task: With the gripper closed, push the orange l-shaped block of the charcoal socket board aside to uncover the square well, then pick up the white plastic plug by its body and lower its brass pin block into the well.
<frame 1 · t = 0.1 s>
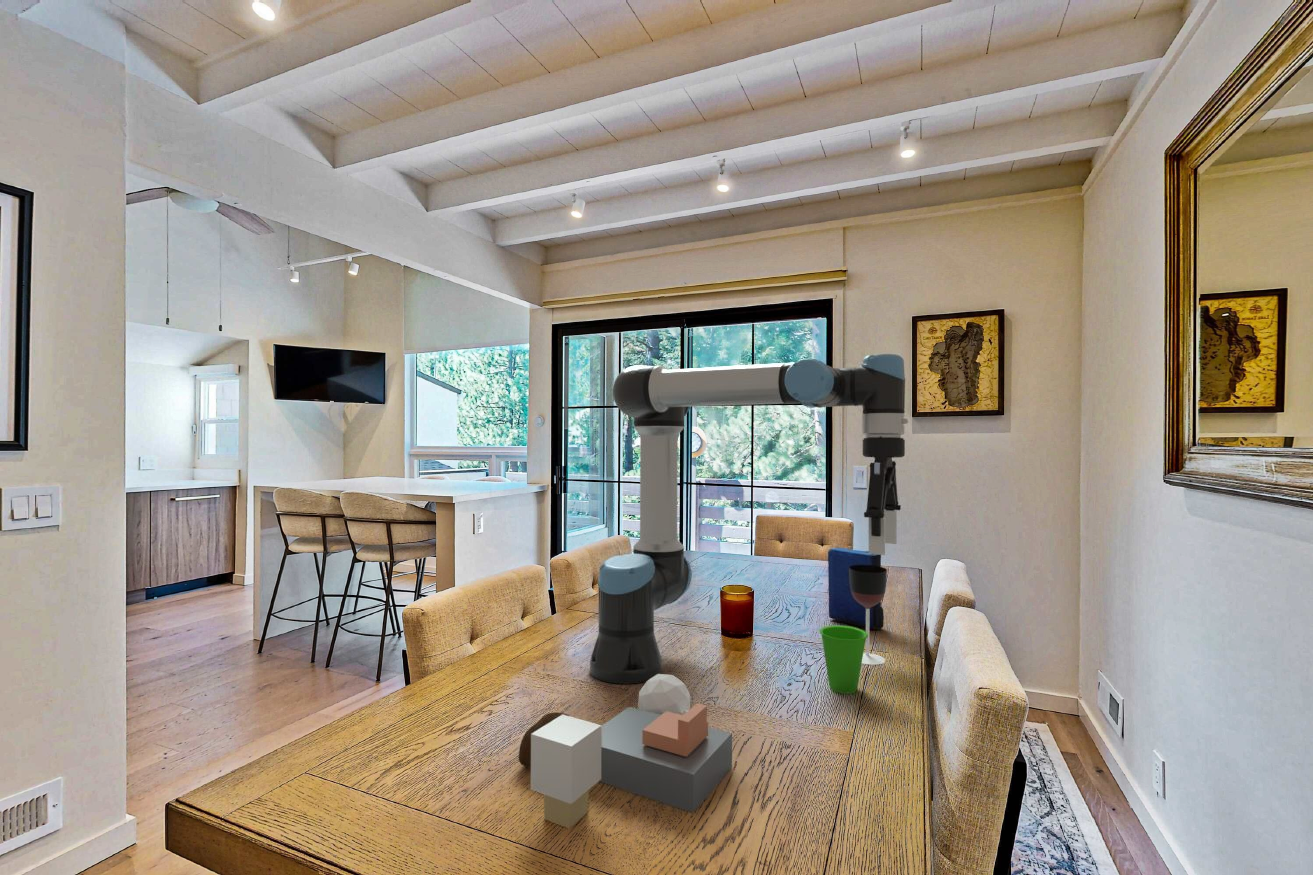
hand: (883, 548, 116), 28 cm above the table, fingers open, 13 cm apart
book: (855, 625, 162), on the table
plug: (566, 815, 79), on the table
potato: (551, 761, 92), on the table
socket board: (657, 770, 89), on the table
orange l-shaped block: (675, 723, 88), point 8 cm above the table, slide at 0.0 cm
wineglass: (867, 659, 136), on the table
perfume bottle: (667, 732, 102), on the table
cup: (843, 689, 120), on the table
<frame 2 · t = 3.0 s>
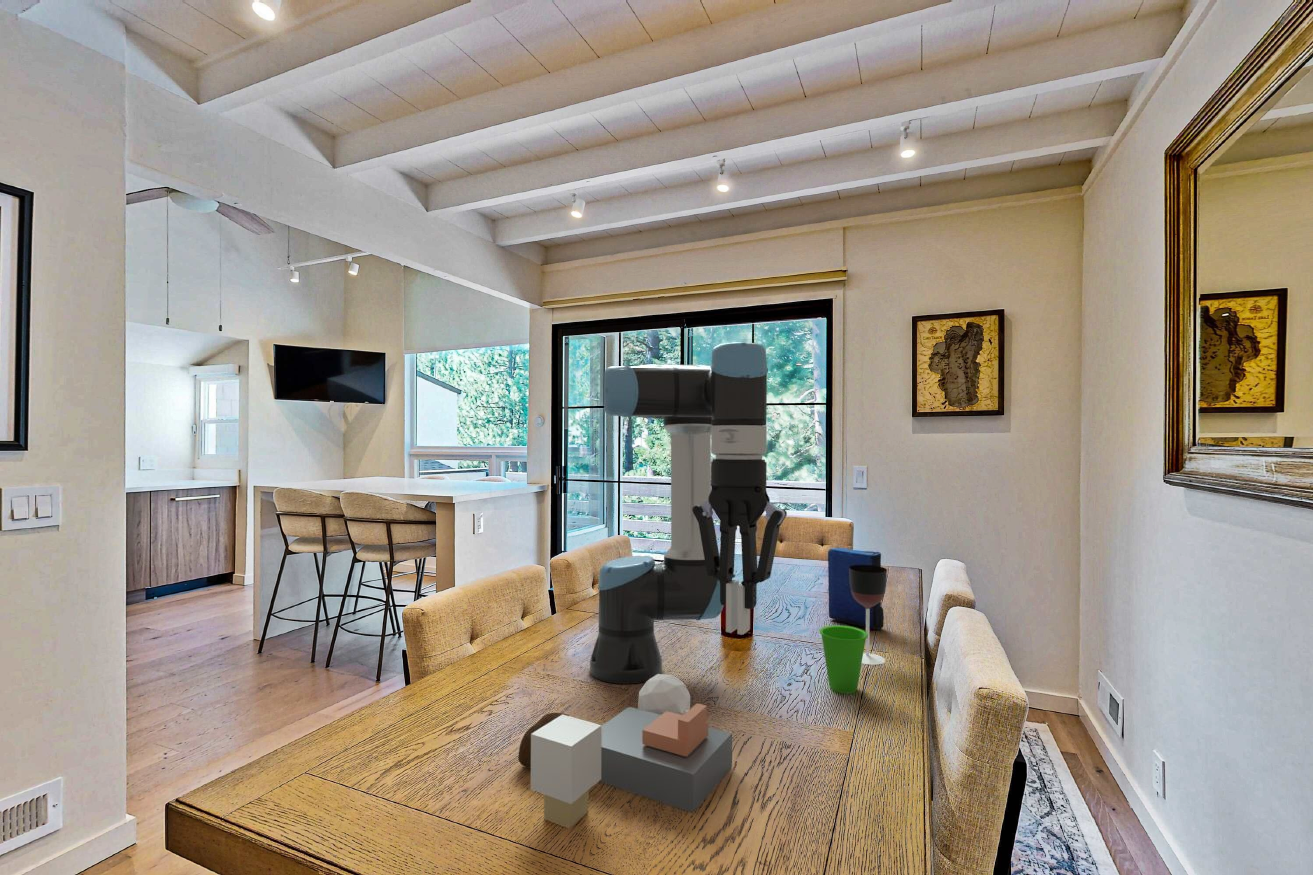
hand: (738, 630, 83), 22 cm above the table, fingers closed
nothing on the table moved.
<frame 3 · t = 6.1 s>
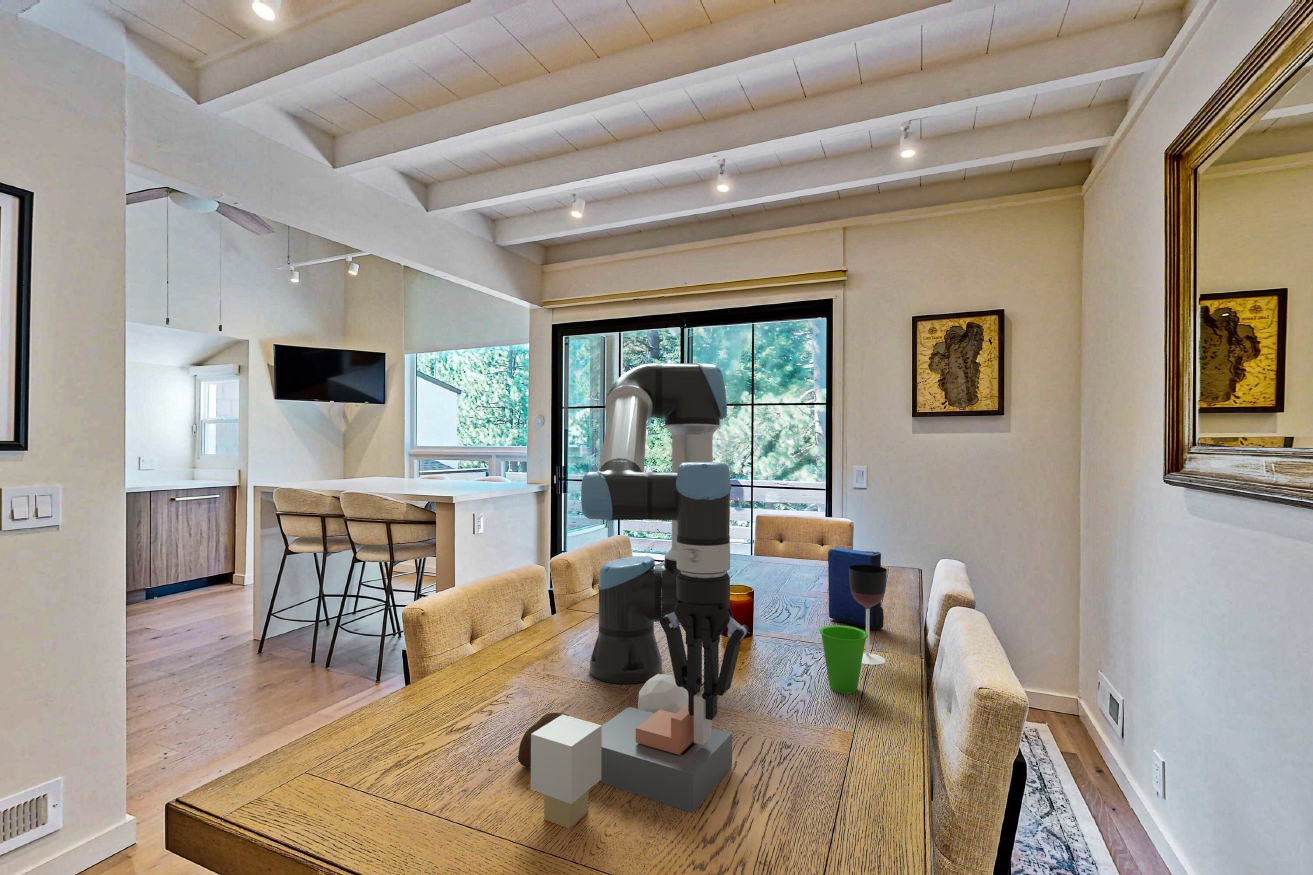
hand: (702, 739, 86), 6 cm above the table, fingers closed
orange l-shaped block: (669, 722, 88), point 8 cm above the table, slide at 1.1 cm, touching gripper
everything else where it was.
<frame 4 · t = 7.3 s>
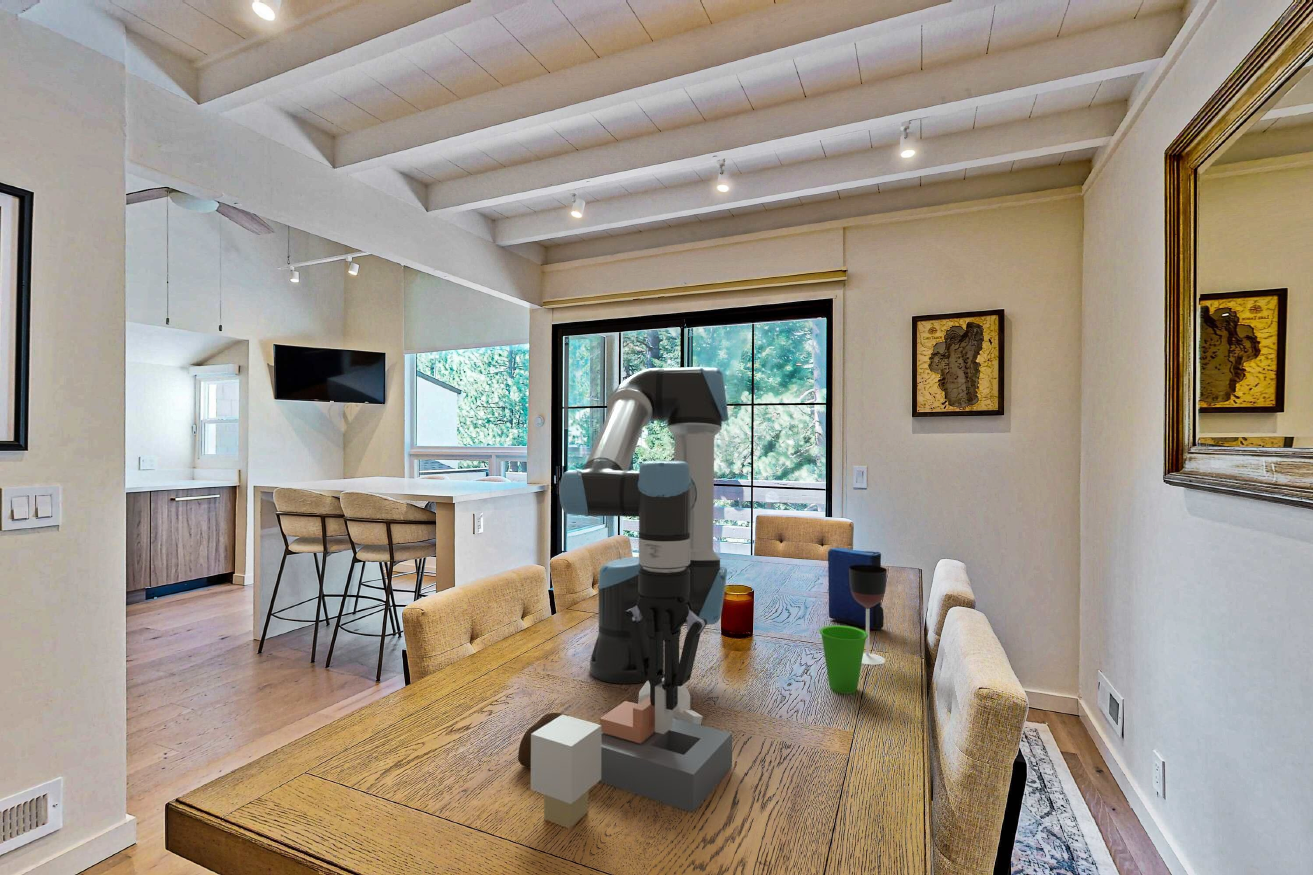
hand: (663, 728, 89), 6 cm above the table, fingers closed
orange l-shaped block: (632, 712, 91), point 8 cm above the table, slide at 7.3 cm, touching gripper
everything else where it was.
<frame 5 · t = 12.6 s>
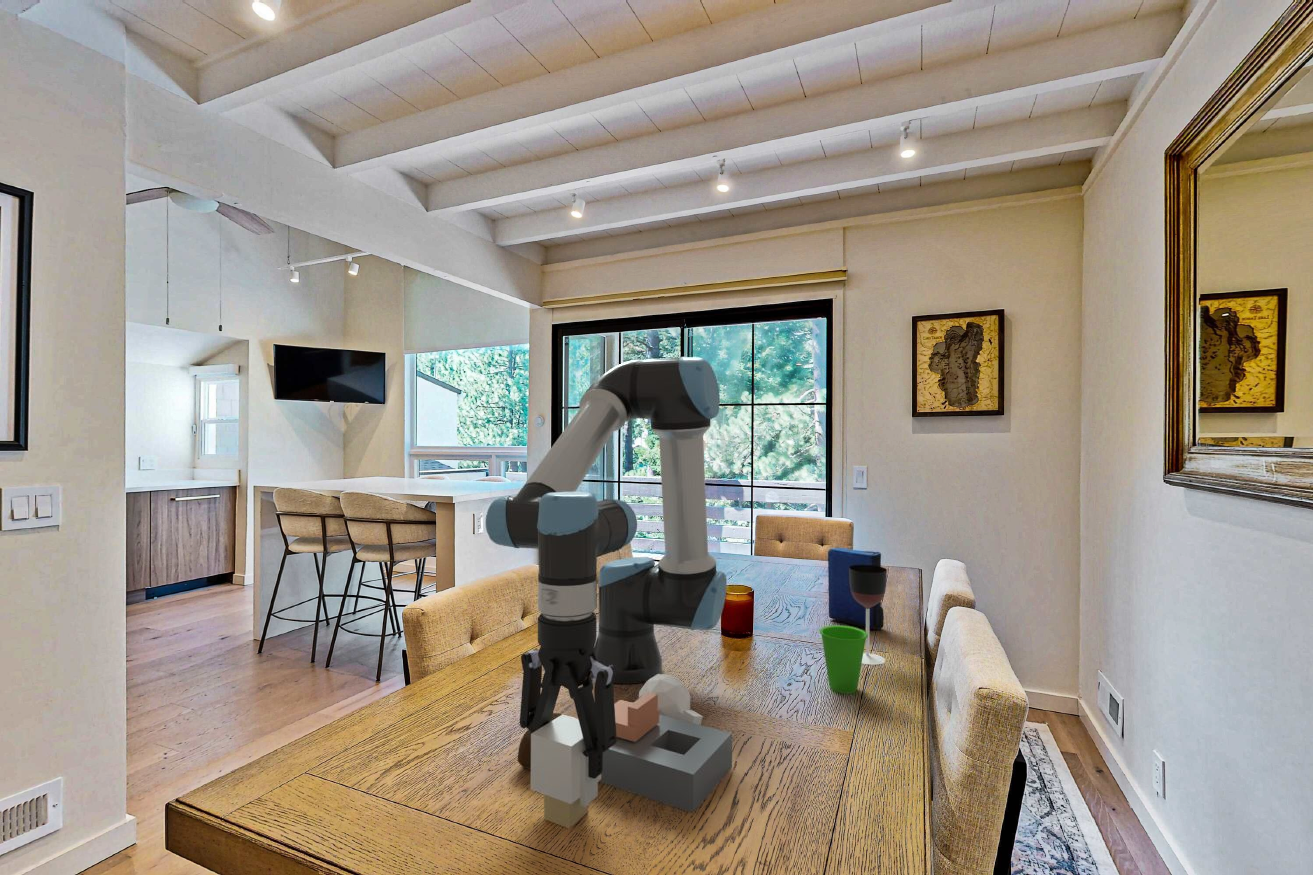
hand: (566, 791, 79), 3 cm above the table, fingers closed on plug, 6 cm apart
plug: (566, 815, 79), on the table, touching gripper
orange l-shaped block: (627, 711, 92), point 8 cm above the table, slide at 8.2 cm
everything else where it was.
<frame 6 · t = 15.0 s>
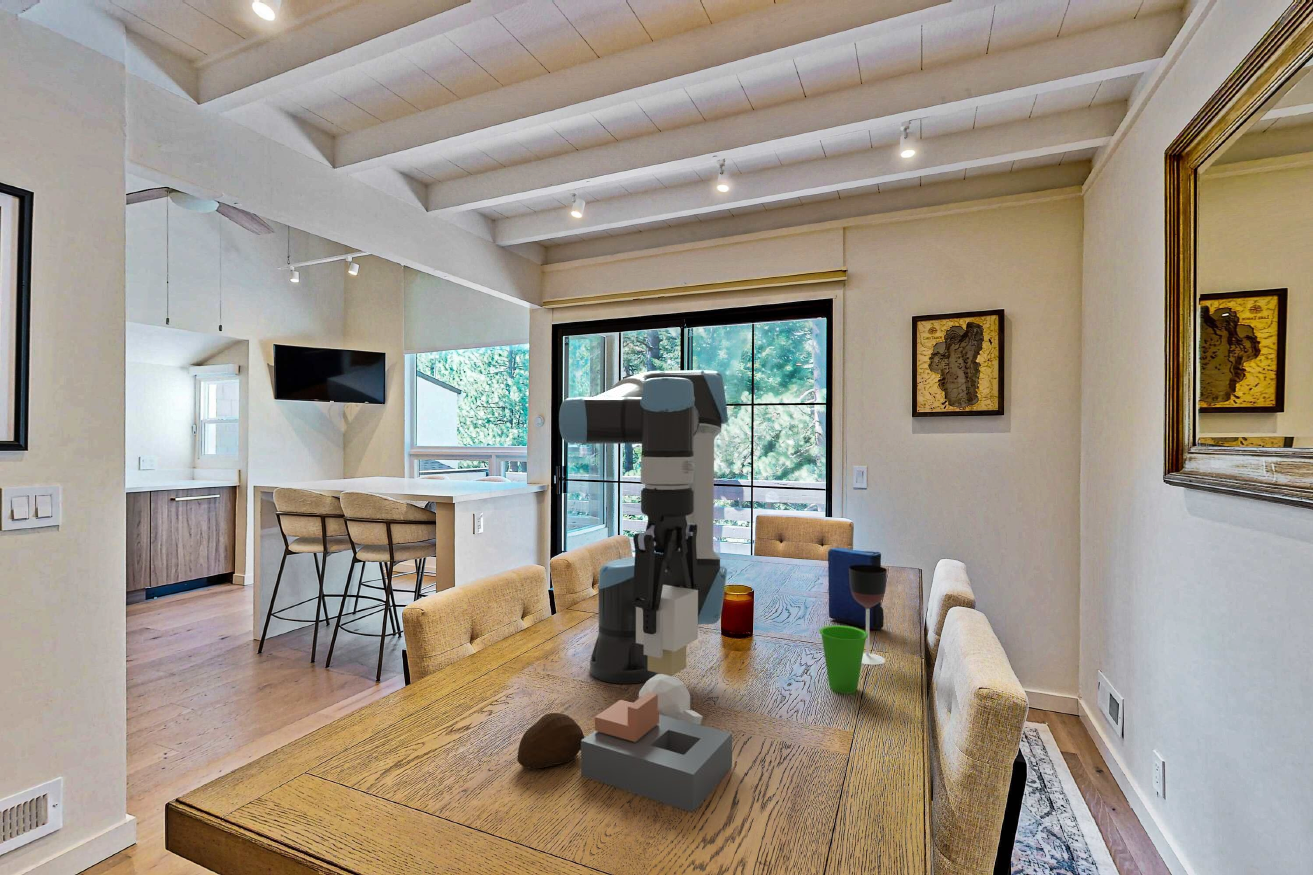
hand: (666, 647, 87), 19 cm above the table, fingers closed on plug, 6 cm apart
plug: (667, 668, 87), point 16 cm above the table, touching gripper
everything else where it was.
when the fingers open (6 cm above the table, at t = 17.3 s): plug drops 2 cm, resting on socket board.
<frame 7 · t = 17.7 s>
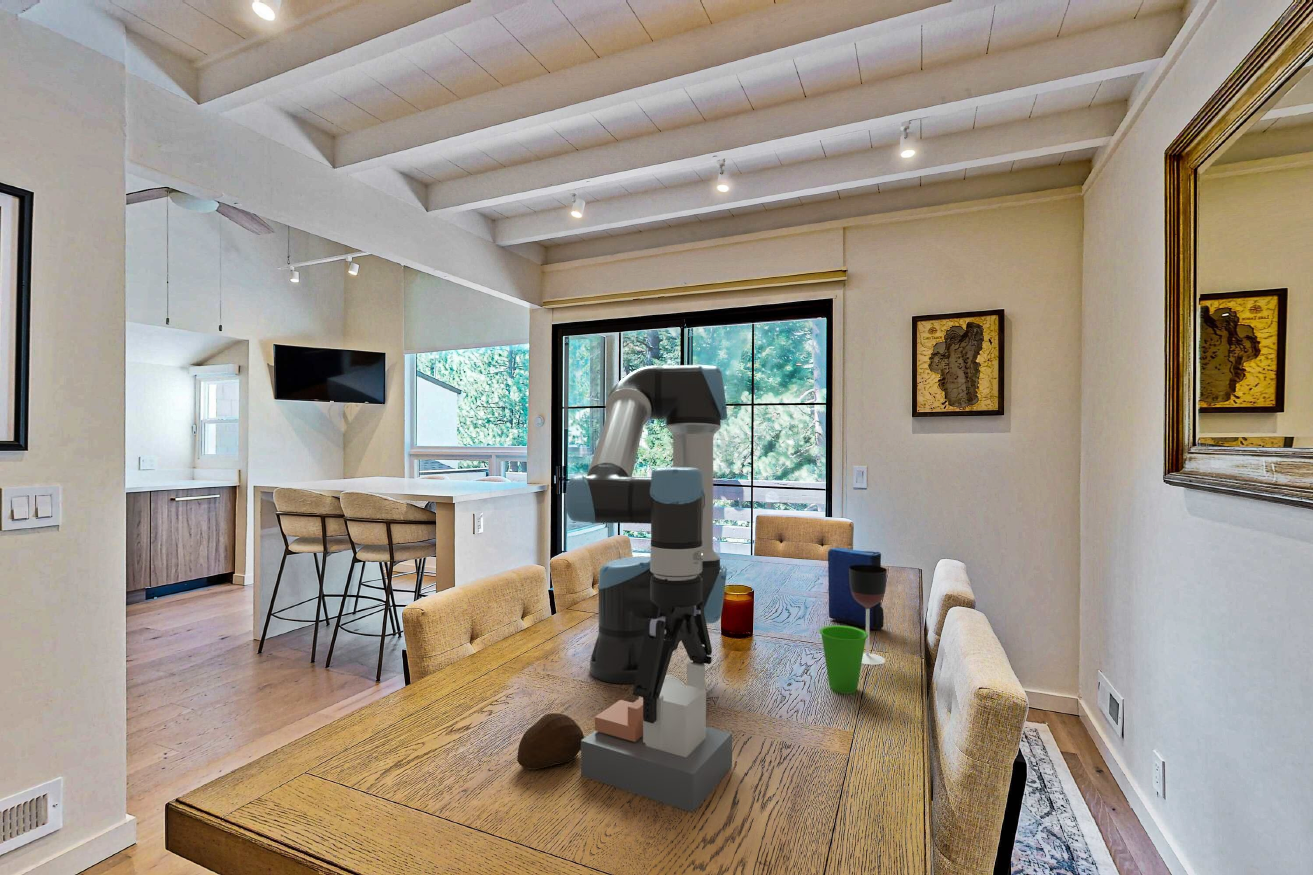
hand: (675, 724, 88), 8 cm above the table, fingers open, 12 cm apart
plug: (676, 769, 88), point 1 cm above the table, touching socket board
everything else where it was.
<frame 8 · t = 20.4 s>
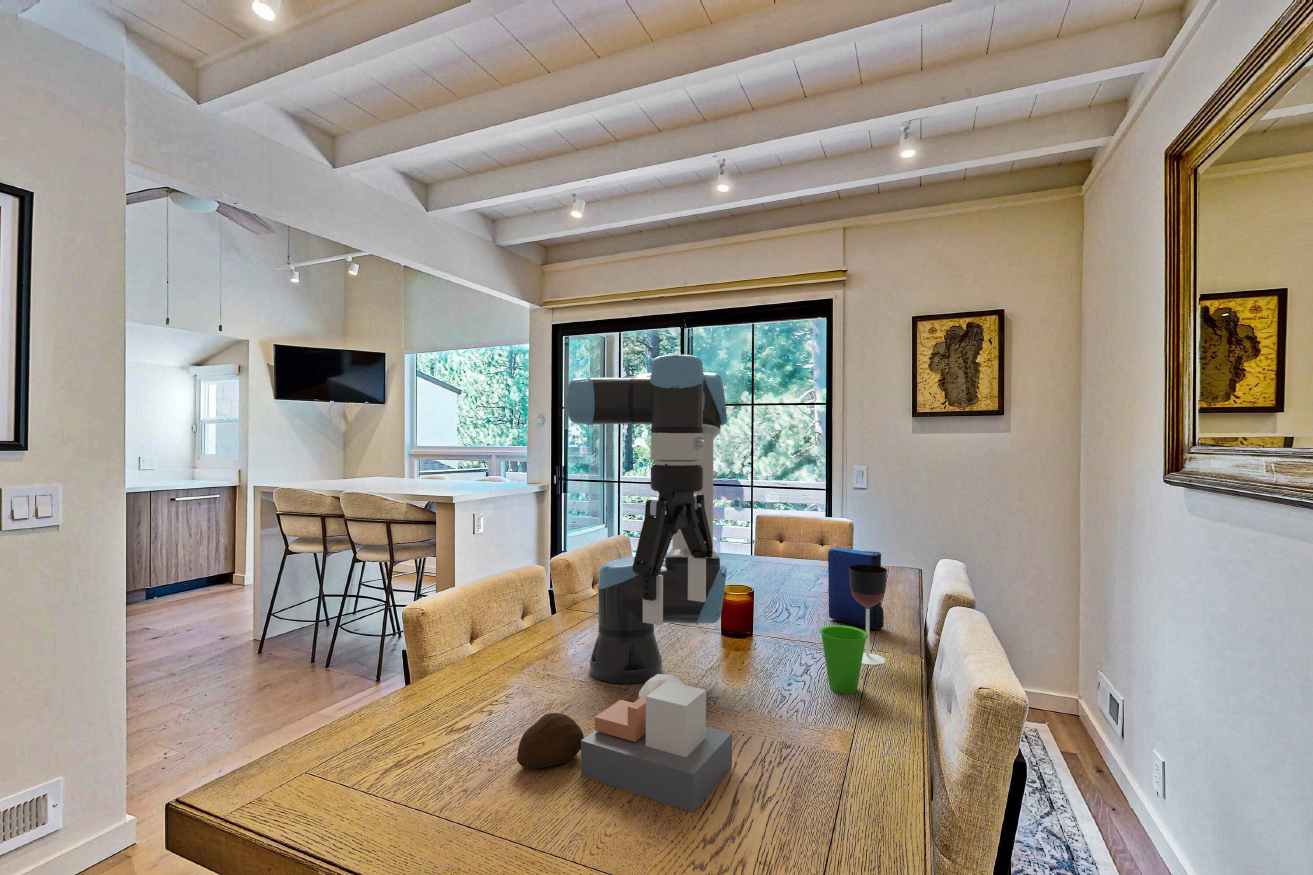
hand: (676, 611, 88), 24 cm above the table, fingers open, 13 cm apart
nothing on the table moved.
at the end: plug 0.1 cm from the target spot on the socket board, point 1.0 cm above the socket board's base; plug tilted 0°; orange l-shaped block slide at 8.2 cm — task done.
